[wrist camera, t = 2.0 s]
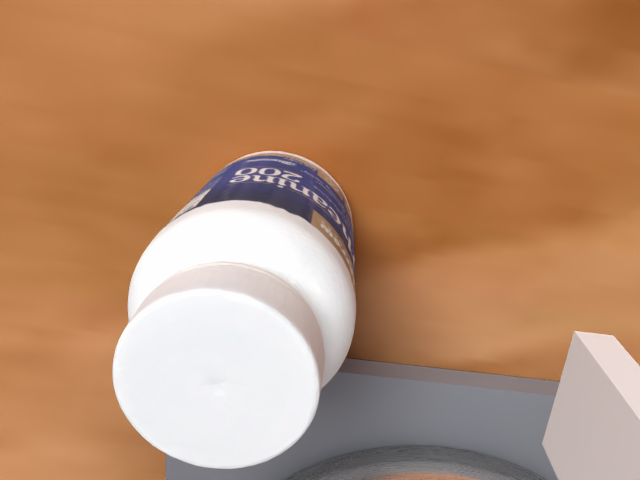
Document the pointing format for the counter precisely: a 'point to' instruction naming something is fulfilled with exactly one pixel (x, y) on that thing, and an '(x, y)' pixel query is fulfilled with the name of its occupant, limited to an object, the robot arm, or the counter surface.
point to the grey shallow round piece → (414, 466)
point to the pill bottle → (240, 314)
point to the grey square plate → (411, 419)
